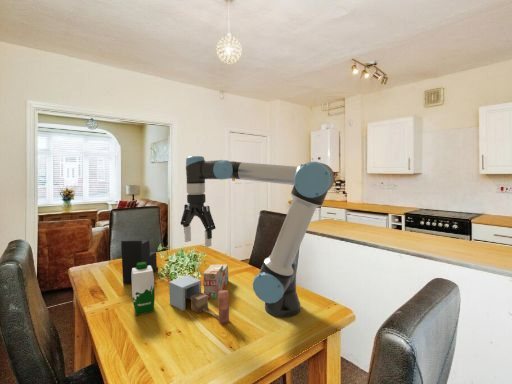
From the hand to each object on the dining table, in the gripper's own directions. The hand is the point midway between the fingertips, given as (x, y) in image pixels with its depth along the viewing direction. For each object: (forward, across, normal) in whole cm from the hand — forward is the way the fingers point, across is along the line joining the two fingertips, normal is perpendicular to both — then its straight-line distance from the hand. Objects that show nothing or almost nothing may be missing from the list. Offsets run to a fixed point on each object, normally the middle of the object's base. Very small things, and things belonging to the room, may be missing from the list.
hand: (197, 243), depth 116 cm
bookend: (+29, +58, -4) cm, 65 cm away
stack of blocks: (+29, +10, -19) cm, 36 cm away
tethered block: (+29, -7, 0) cm, 30 cm away
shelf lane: (+29, +10, 0) cm, 30 cm away
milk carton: (+29, +19, +15) cm, 38 cm away
